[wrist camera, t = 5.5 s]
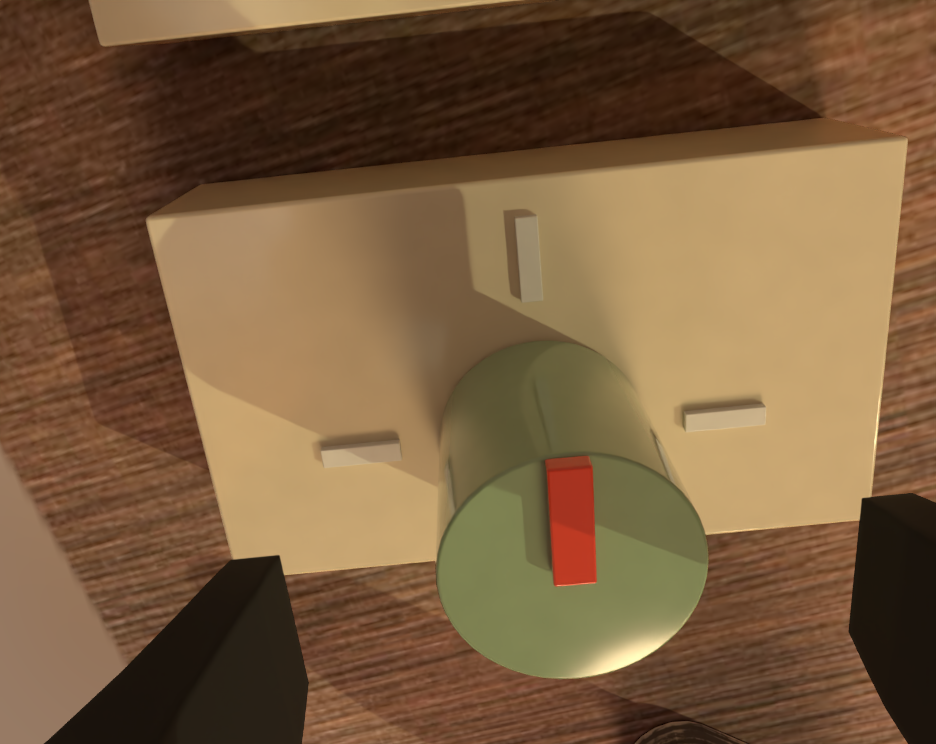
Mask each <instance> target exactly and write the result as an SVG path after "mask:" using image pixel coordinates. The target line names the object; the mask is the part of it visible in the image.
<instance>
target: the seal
mask: <svg viewBox="0 0 936 744" xmlns="http://www.w3.org/2000/svg"><path fill="white" fill-rule="evenodd" d="M708 562H709V555H708V543H707V538H706V533H705V529H704V527H703V524H702V522H701V519H700V517H699V515H698V513H697V511H696V509H695V507H694V505H693V503H692V501H691V499H690V497H689V495H688V493H687V491H686V489H685V487H684V485H683V483H682V481H681V479H680V477H679V475H678V473H677V471H676V469H675V467H674V465H673V463H672V461H671V459H670V457H669V455H668V453H667V451H666V449H665V447H664V446H663V444H662V442H661V440H660V438H659V436H658V434H657V432H656V430H655V428H654V426H653V424H652V422H651V420H650V418H649V416H648V414H647V412H646V410H645V408H644V406H643V404H642V402H641V400H640V398H639V396H638V394H637V392H636V391H635V389H634V387H633V385H632V384H631V382H630V381H629V379H628V378H627V377H626V376H625V374H624V373H623V372H622V371H621V370H620V369H619V368H618V367H617V366H616V365H615V364H613V363H612V362H611V361H609V360H608V359H606V358H605V357H604V356H602V355H600V354H598V353H596V352H594V351H593V350H591V349H588V348H585V347H582V346H580V345H576V344H572V343H567V342H560V341H533V342H526V343H521V344H517V345H514V346H510V347H507V348H505V349H503V350H500V351H498V352H496V353H494V354H492V355H490V356H489V357H487V358H485V359H484V360H482V361H481V362H480V363H478V364H477V365H476V366H474V367H473V368H472V369H471V370H470V371H469V372H468V373H467V374H466V375H465V376H464V377H463V378H462V379H461V380H460V382H459V383H458V384H457V386H456V387H455V389H454V390H453V392H452V394H451V395H450V397H449V399H448V401H447V404H446V406H445V409H444V412H443V416H442V420H441V427H440V443H439V474H438V505H437V536H436V567H435V569H436V585H437V589H438V594H439V598H440V601H441V604H442V606H443V609H444V611H445V613H446V615H447V617H448V618H449V620H450V622H451V624H452V625H453V626H454V628H455V629H456V630H457V632H458V633H459V634H460V635H461V637H462V638H463V639H464V640H465V641H466V642H467V643H468V644H469V645H470V646H471V647H472V648H474V649H475V650H476V651H478V652H479V653H480V654H482V655H483V656H484V657H486V658H488V659H490V660H491V661H493V662H495V663H497V664H499V665H501V666H503V667H506V668H508V669H511V670H513V671H516V672H520V673H523V674H527V675H531V676H537V677H542V678H553V679H578V678H585V677H593V676H598V675H602V674H606V673H610V672H613V671H616V670H619V669H622V668H625V667H627V666H629V665H631V664H634V663H636V662H638V661H640V660H642V659H644V658H645V657H647V656H648V655H650V654H652V653H653V652H655V651H656V650H658V649H659V648H660V647H662V646H663V645H664V644H665V643H667V642H668V641H669V640H670V639H671V638H672V637H673V636H674V635H675V634H676V633H677V632H678V631H679V630H680V629H681V628H682V626H683V625H684V624H685V623H686V621H687V620H688V619H689V617H690V616H691V614H692V612H693V611H694V609H695V607H696V606H697V604H698V602H699V599H700V597H701V594H702V592H703V589H704V585H705V581H706V578H707V572H708Z"/></svg>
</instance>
